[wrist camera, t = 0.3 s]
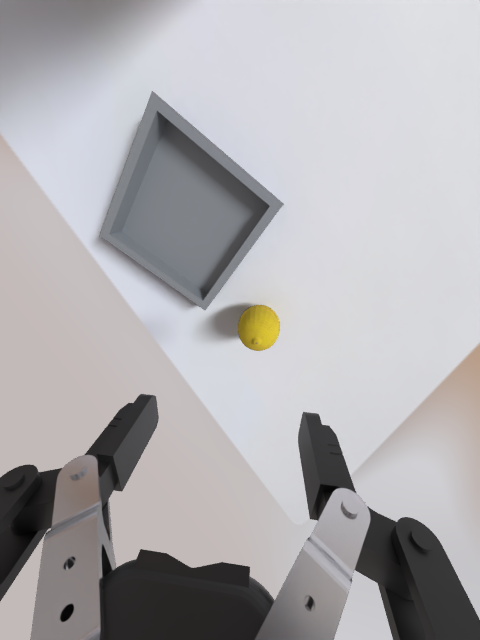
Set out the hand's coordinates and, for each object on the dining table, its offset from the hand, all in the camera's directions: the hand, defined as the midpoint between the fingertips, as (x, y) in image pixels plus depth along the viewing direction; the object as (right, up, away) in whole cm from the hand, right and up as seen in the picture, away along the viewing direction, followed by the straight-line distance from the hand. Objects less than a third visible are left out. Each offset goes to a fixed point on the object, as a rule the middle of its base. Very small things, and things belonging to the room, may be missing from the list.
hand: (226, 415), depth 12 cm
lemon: (+4, +6, +22) cm, 23 cm away
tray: (-5, +18, +17) cm, 25 cm away
